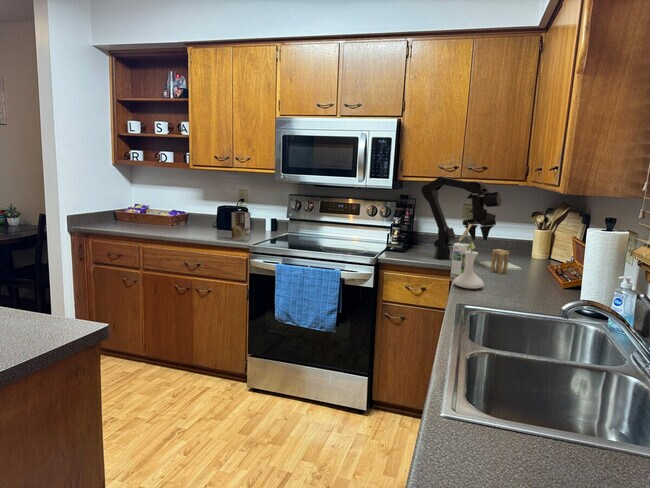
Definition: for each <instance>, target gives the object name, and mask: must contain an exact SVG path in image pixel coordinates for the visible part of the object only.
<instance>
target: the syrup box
mask: <svg viewBox="0 0 650 488" xmlns="http://www.w3.org/2000/svg"><path fill="white" fill-rule="evenodd" d="M469 244H470V243H462V242H455V243H453V248H452V256H451V257H452V258H451V259H452V260H451V271H450V278H453V279H455V278H456V277H458V276H459V275H461V274H462V273H464V272H465V271H466V269H467V256H466V254H465V251H471V249H469V250H467V248H468V247H469Z"/></svg>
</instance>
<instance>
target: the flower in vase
mask: <svg viewBox="0 0 650 488" xmlns="http://www.w3.org/2000/svg"><path fill="white" fill-rule="evenodd" d="M470 227H471V224H469V226H468V228H467V229H466V228H465V230H464V232H463V233H462V235H460V238H459V239H458V242H461V241H462V240H463V239H464V238H465V236H467V237H468V240H469V243H468V244H469V247H468V248H467V250H469V249H471V251H465V254H466V256H467V269H466V271H465V272H464V273H462V274H461V275H459V276H458V277H456V278H453V284H454V285H456V286H457V287H459V288H464V289H475V290H476V289H481V288H482V287H484V286H485V283H484V282H483V280H482V279H481V278H480V277H479V276H478V275H477V274H476V272H474V263H475V259H476V257H477V256H478V255H479V252H477V251H473V250H474V249H476V246H475V243H474V242H473V241H472V240H471V236H470V234H469V232H468V231H469V229H470Z"/></svg>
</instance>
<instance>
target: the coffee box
mask: <svg viewBox="0 0 650 488" xmlns="http://www.w3.org/2000/svg"><path fill="white" fill-rule="evenodd" d="M251 214H252V213H251V212H250V211H249V212H248V211H232V212H231V240H232V241H233V240H234V241H240V242H241V241H242V242H247V241H250V240H251Z"/></svg>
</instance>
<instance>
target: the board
mask: <svg viewBox="0 0 650 488" xmlns="http://www.w3.org/2000/svg"><path fill="white" fill-rule="evenodd" d="M491 262H492V261H488V260H487V261H485V260H484V261H479V263H478V264H480V265H481V266H484V267H486V268H488V269H490V270H491ZM496 262H497V261H495V271H496ZM503 267H504V261H503ZM503 267H502V271H503ZM522 269H523V268H522V267H520V266H518V265H515V264H513V263H511V262H508V267H507V271H522Z"/></svg>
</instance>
